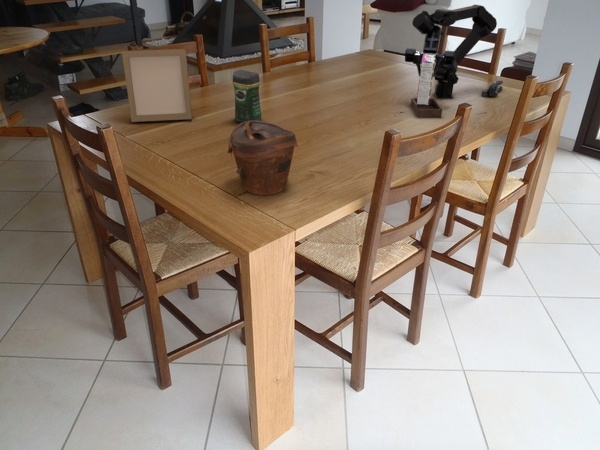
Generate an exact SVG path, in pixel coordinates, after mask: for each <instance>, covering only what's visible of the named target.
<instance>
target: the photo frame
mask: <svg viewBox="0 0 600 450" xmlns="http://www.w3.org/2000/svg"><path fill="white" fill-rule="evenodd" d="M121 56H122V63H123V71H124V77H125V85H126V91H127V100H128V106H129V107H128V108H129V114H130V120H131V123H138V122H140V123H141V122H158V121H159V122H160V121H178V120H192V119H193V110H192V100H191V91H190V90H191V89H190V80H189V71H188V69H189V68H188V60H187V59H188V58H187V51H186V48H174V49H173V48H172V49H171V48H170V49H142V50H121Z"/></svg>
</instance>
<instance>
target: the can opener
mask: <svg viewBox="0 0 600 450" xmlns="http://www.w3.org/2000/svg"><path fill="white" fill-rule="evenodd" d="M503 83H504V81H503V80H496V81H493V82H492V83H491V84H490V85H489V86H488V88H485V89H482V90H481V92H480V93H481V95H482V96H489V97H497V96H498V95H499V92H500V91H501V90H502V89H503V86H502V84H503Z"/></svg>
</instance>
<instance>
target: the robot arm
mask: <svg viewBox="0 0 600 450" xmlns="http://www.w3.org/2000/svg"><path fill="white" fill-rule="evenodd" d="M467 19H471V21H472V22H473V23H472V27H471V31H470V33H469V34H467V35H466V37H464V39H463V40H462V41H461V42H460V43H459V45H457V47H456V48H455V49H454V50H444V53H443V54H442V53H439V47H440V40H441V36H443V35H445V33H444V30H442V27H445V28H446V27H447V28H448V27H450V26H452V25H455V23H456V22H459V21H462V20H467ZM497 25H498V22H497V19H496V18H495V16H494V15H493V14H492V13H490V12H489V11H488V10H487V8H486V7H485V6H484V5H481V4H473V5H469V6H465V7H459V8H454V9H448V8H447V9H445V8H437V9H436V10H434V12H433V13H431V14H429V12H428V11H427V10H422V11H421V12H419V13H418V14H417V15H415V17H413V20H412V26H413V27H414V28H415V29H416V30H417V31H418V32H419V33H420V34H421V35H424V42H423V47H422V52H421V51H417V48H409V47H407V48H406V49H405V50H404V62H405V63H412V64H413V65H416V68H417V69H416V70H417V74H418V77H420V70H421V63H422V58H423V54H427V55H428V54H429V55H436V57H435V65H434V72H433V78H434V81H437V82H436V83H435V86H434V96H435V97H436V98H437V99H454V96H453V90H454V85H456V84H458V81H459V76H457V74H456V73H457V72H458V67H459V64H460V63H461V62H462V61H463V60H464V58H465V57H466V56H467V55H468V54H469V53H470V51H471V50H472V49H473V48H474V47H475V46H476V45H477V43H478V42H479V41H481V39H483V38H486V37H487V36H490V35H491V33H493V32H494V31H495V30H496V28H497ZM440 26H441V27H440Z"/></svg>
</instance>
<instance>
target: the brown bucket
mask: <svg viewBox="0 0 600 450" xmlns="http://www.w3.org/2000/svg"><path fill="white" fill-rule="evenodd" d="M227 147H228V148H227V154H230V157H231V158H232V154H233V157H234V160H235V164H236V168H237V170H236V171H235V172H236V174H238V175H239V178H240V182H241V185H242V187H243V189H244V190H246V191H247V192H249V193H251V194H254V195H258V196H269V195H275V194H277V193H280V192H282V191H284V189H285V188H286V187H287V185H288V184H287V183H288V179H289V178H288V177H289V176H290V175H289V174H290V170H291V165H292V161H293V156H294V151H295V147H298V148H299V145H298V141H297V137H296V134H295V132H293V131H291V130H288V129H285V128H283V127H281V126H279V125H277V124H274V123H271V122H267V121H263V120H261V121H246V122H243V123H239V124H238V125H237V126H236V127H234V128H233V130H232V131H231V133H230V135H229V138H228V146H227Z"/></svg>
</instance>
